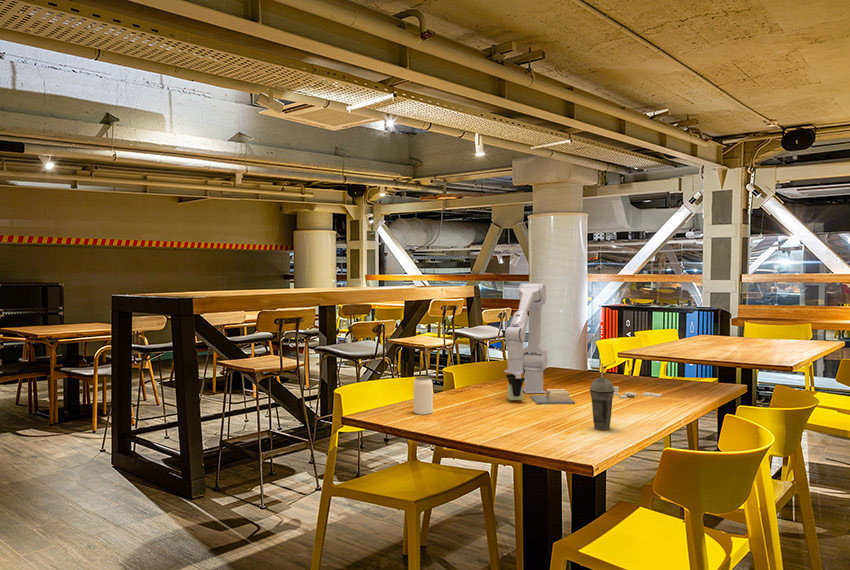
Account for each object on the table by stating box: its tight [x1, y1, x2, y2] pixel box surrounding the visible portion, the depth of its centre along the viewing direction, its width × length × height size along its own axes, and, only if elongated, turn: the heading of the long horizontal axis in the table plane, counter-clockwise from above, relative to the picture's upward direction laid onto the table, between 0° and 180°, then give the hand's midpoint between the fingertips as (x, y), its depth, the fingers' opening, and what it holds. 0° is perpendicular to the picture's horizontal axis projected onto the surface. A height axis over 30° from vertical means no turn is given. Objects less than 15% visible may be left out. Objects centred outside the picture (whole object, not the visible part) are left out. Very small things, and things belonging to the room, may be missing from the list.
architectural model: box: [613, 385, 663, 400], centre depth 245 cm, size 20×24×2 cm
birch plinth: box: [545, 388, 570, 401], centre depth 236 cm, size 7×7×3 cm
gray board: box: [529, 394, 576, 405], centre depth 236 cm, size 13×14×1 cm
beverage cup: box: [589, 363, 615, 431], centre depth 192 cm, size 7×7×20 cm
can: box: [413, 376, 434, 416], centre depth 214 cm, size 6×6×12 cm
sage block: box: [507, 383, 524, 401], centre depth 235 cm, size 5×5×5 cm
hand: (515, 394), depth 235 cm, fingers closed on sage block, 5 cm apart
